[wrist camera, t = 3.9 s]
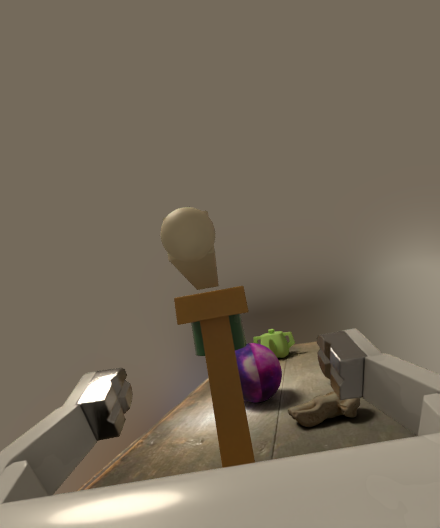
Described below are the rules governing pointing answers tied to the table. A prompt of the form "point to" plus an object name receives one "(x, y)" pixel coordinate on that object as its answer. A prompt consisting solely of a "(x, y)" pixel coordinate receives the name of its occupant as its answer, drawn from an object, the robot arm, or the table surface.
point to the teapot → (276, 342)
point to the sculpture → (323, 409)
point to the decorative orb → (258, 372)
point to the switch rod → (191, 245)
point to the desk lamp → (221, 364)
